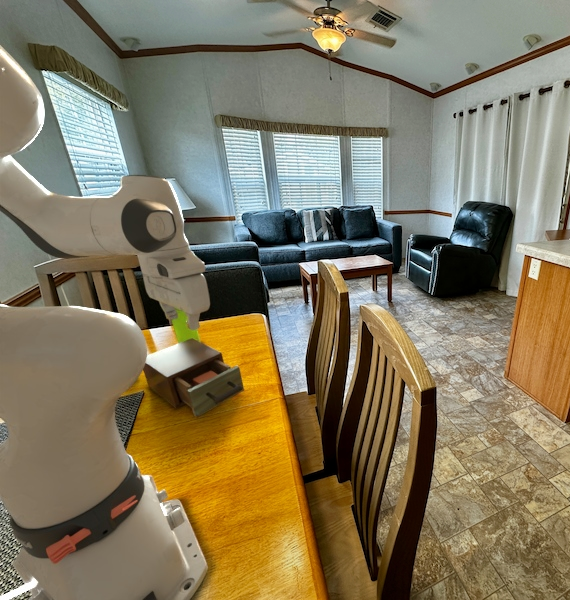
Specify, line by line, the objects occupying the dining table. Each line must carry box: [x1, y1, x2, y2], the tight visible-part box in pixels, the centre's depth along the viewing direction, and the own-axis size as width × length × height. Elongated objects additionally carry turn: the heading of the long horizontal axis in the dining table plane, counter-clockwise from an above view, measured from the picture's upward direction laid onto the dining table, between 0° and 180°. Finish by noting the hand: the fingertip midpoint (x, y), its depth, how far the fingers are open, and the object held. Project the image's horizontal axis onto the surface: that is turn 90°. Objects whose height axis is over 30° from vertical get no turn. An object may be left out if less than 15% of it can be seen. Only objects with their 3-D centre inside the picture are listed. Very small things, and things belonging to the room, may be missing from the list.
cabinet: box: [142, 338, 225, 409], centre depth 84 cm, size 15×13×9 cm
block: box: [193, 371, 218, 387], centre depth 79 cm, size 4×4×4 cm
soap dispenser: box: [171, 308, 202, 344], centre depth 101 cm, size 6×7×20 cm
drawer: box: [172, 359, 245, 418], centre depth 78 cm, size 18×12×7 cm, turn 57°
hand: (183, 323), depth 71 cm, fingers open, 8 cm apart
